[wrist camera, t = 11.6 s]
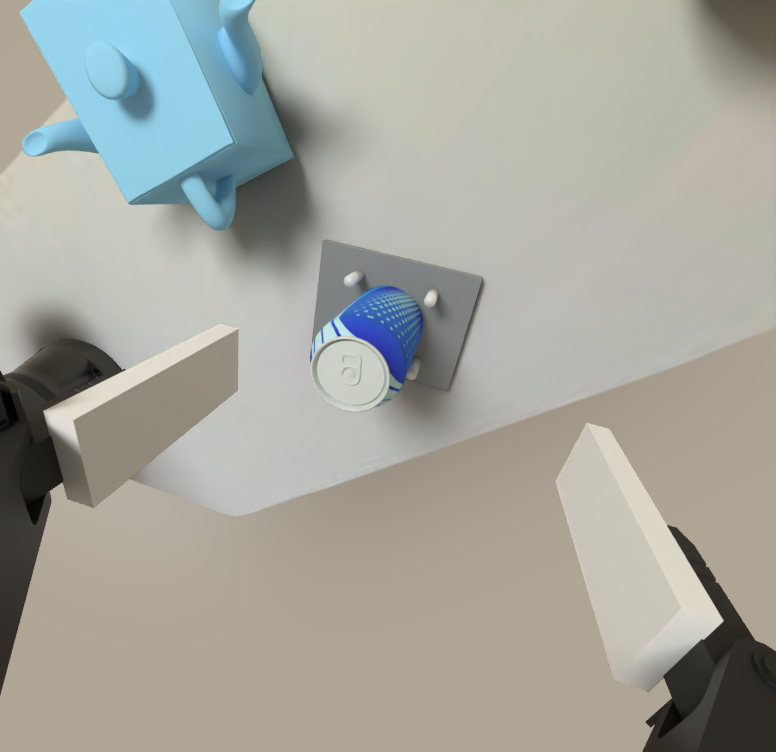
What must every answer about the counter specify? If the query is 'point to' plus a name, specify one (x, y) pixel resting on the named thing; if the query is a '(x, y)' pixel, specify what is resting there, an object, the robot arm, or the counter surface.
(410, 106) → the counter surface
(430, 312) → the pegboard
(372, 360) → the beer can
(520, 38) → the counter surface
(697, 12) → the counter surface
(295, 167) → the counter surface
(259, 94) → the teakettle
